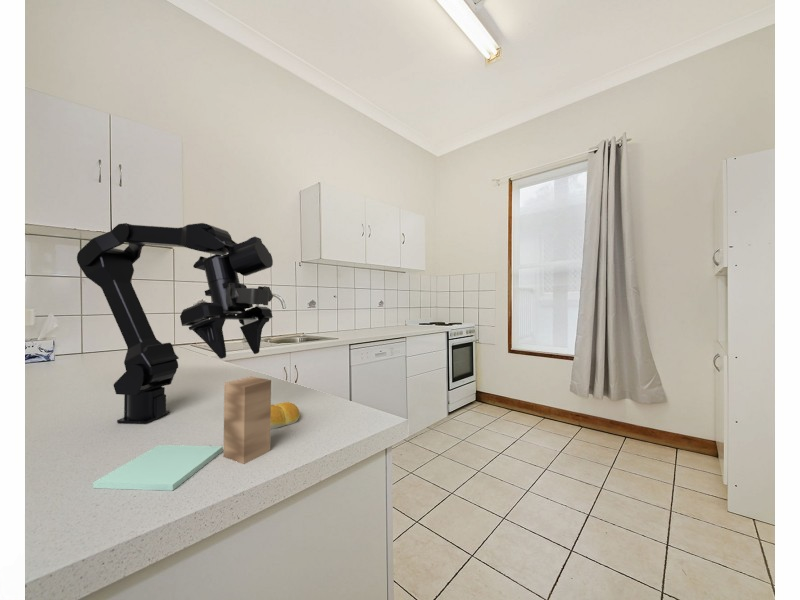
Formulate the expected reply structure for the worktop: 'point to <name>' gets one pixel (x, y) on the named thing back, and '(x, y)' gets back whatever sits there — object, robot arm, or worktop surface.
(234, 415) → the walnut block
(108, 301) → the robot arm
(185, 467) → the green board
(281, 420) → the bread roll
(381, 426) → the worktop surface
